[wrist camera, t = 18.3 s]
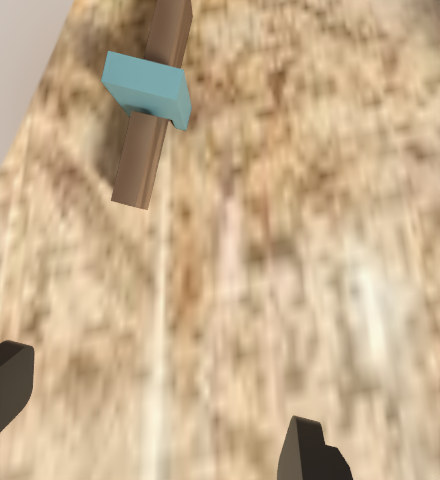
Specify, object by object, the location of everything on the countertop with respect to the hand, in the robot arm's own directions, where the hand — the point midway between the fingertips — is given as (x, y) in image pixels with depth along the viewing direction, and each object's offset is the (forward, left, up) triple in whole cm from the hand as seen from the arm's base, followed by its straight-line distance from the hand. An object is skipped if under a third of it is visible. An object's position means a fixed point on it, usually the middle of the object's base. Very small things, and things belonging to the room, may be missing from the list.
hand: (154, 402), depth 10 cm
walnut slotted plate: (+8, -16, -24) cm, 30 cm away
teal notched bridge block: (+8, -16, -24) cm, 30 cm away
